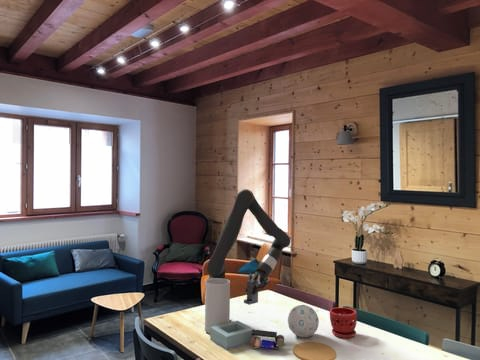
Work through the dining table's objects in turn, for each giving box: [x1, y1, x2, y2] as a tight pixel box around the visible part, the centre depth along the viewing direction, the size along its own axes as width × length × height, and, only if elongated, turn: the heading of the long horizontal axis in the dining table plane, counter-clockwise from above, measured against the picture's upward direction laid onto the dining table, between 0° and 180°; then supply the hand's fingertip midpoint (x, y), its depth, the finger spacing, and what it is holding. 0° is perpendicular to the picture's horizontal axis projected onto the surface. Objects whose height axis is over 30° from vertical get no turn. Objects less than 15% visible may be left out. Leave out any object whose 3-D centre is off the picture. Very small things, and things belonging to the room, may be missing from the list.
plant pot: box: [329, 306, 358, 339], centre depth 189 cm, size 13×13×12 cm
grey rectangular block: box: [243, 279, 259, 306], centre depth 191 cm, size 6×4×11 cm, turn 131°
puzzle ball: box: [287, 304, 320, 338], centre depth 186 cm, size 15×15×15 cm
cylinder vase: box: [204, 278, 231, 334], centre depth 193 cm, size 12×12×25 cm
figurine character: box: [250, 329, 285, 351], centre depth 172 cm, size 7×8×15 cm
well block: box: [209, 320, 256, 351], centre depth 180 cm, size 14×16×6 cm
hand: (249, 292), depth 191 cm, fingers closed on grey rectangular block, 4 cm apart
